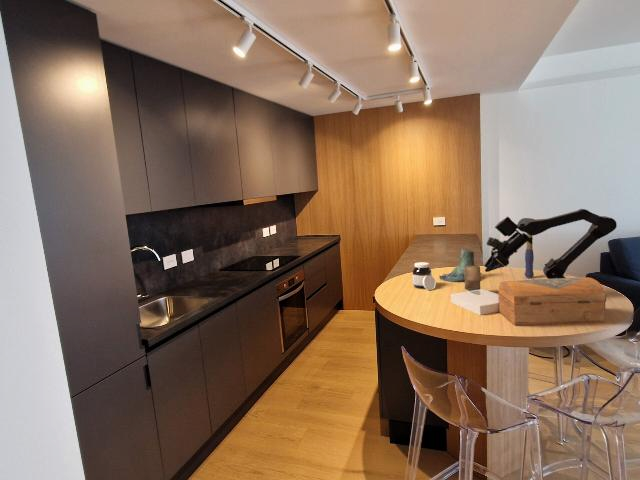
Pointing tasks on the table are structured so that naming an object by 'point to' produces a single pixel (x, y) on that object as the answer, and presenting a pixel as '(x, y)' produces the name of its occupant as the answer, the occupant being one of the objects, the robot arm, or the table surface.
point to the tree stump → (460, 267)
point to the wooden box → (552, 301)
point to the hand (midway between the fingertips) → (485, 268)
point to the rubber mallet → (528, 253)
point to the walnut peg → (472, 277)
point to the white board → (477, 301)
